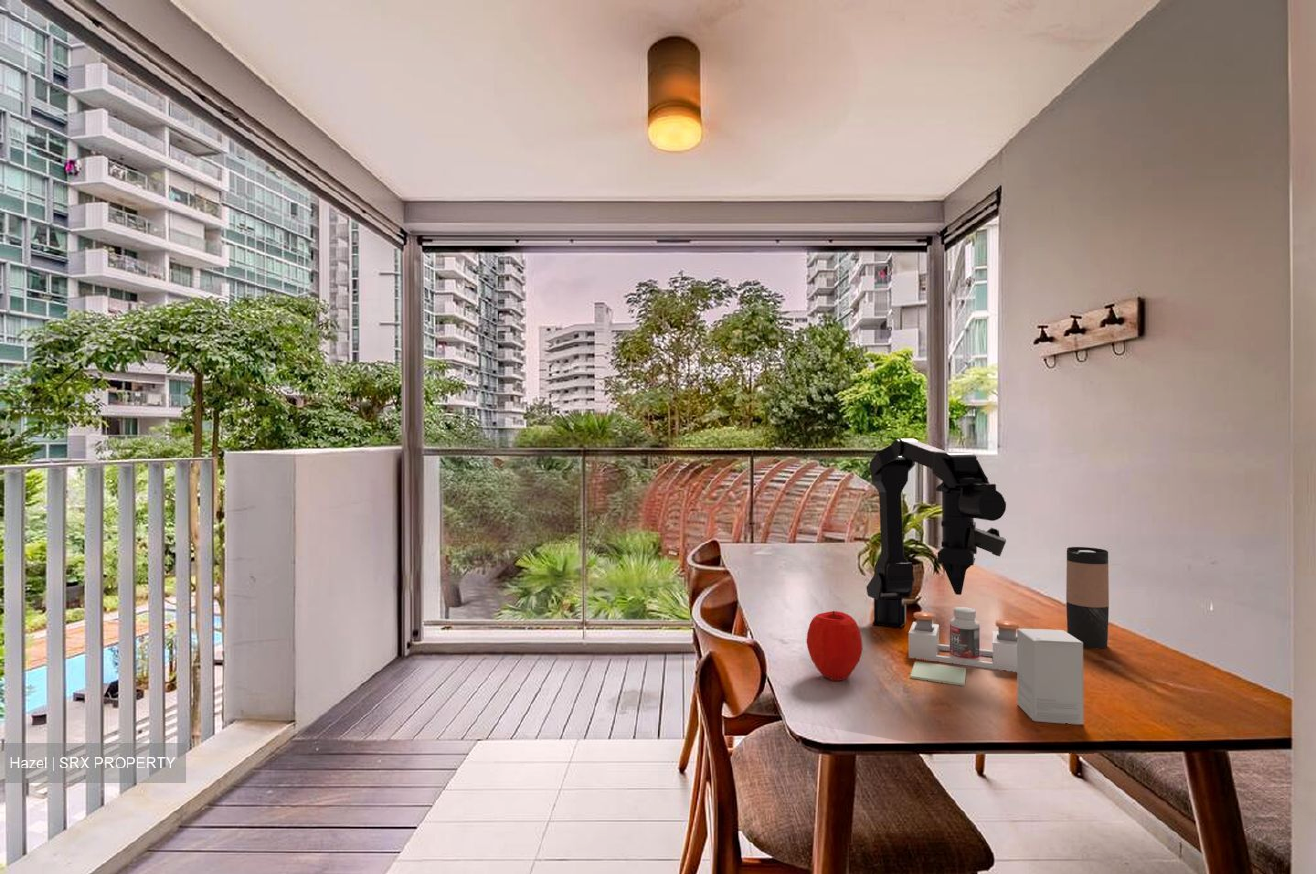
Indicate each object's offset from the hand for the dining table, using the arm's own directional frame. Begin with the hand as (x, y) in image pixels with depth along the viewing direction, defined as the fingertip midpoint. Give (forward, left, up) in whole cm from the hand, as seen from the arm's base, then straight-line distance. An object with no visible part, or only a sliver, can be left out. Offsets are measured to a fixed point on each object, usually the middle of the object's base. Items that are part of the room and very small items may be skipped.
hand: (958, 594), depth 135 cm
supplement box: (+14, -24, -13) cm, 30 cm away
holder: (+1, 0, -13) cm, 13 cm away
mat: (-3, -12, -13) cm, 17 cm away
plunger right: (+9, 0, -10) cm, 13 cm away
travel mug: (+24, +22, -13) cm, 35 cm away
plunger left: (-6, 0, -10) cm, 12 cm away
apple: (-20, -22, -13) cm, 32 cm away
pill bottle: (+1, 0, -13) cm, 13 cm away
